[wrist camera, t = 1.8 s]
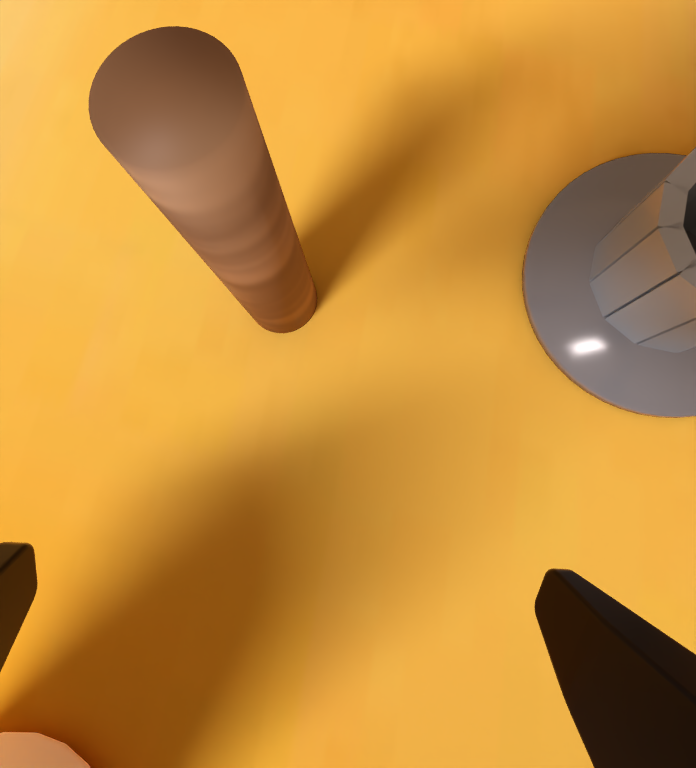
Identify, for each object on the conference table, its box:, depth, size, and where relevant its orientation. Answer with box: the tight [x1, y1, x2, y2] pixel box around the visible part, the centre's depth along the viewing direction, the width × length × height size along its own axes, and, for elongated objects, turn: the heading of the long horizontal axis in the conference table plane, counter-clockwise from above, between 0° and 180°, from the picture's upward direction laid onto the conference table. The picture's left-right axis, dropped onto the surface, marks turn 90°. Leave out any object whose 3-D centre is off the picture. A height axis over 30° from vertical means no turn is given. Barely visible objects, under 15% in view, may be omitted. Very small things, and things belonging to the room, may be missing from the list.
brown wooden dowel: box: [89, 26, 317, 333], centre depth 16 cm, size 3×3×12 cm
